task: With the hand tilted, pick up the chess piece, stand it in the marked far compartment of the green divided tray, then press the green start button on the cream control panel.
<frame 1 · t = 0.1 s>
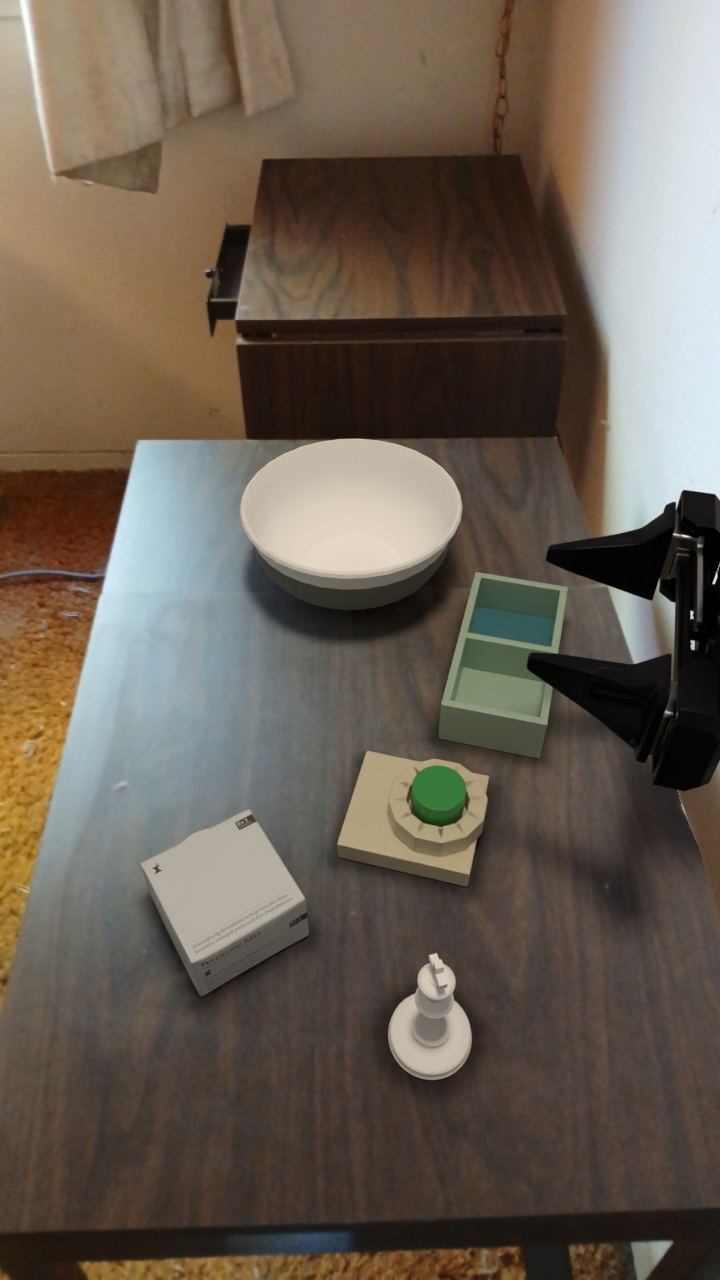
hand: (537, 603, 52), 18 cm above the table, tool horizontal, fingers open, 9 cm apart
small box: (231, 919, 58), on the table
control panel: (414, 822, 62), on the table
bowl: (352, 575, 81), on the table
start button: (438, 794, 59), point 4 cm above the table, slide at 0.1 cm
chess piece: (429, 1037, 53), on the table
green divided tray: (502, 676, 72), on the table
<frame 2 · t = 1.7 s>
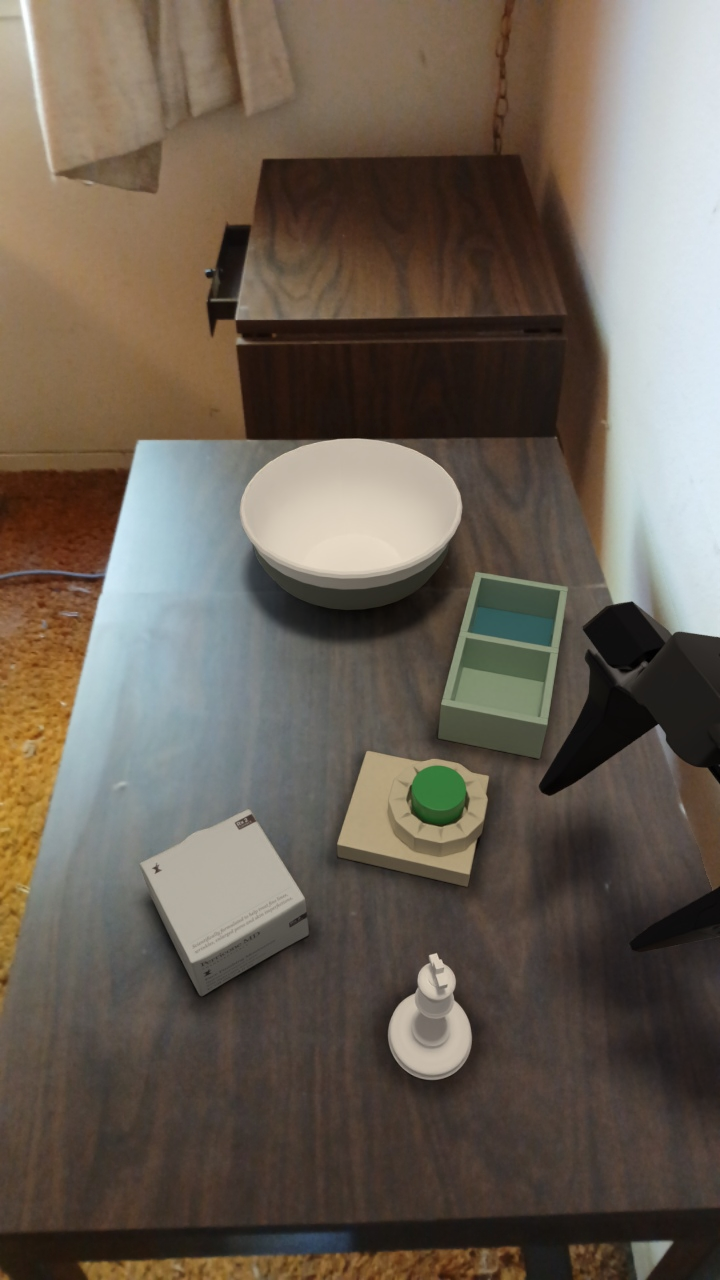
hand: (585, 864, 45), 14 cm above the table, tool tilted 45°, fingers open, 9 cm apart
nothing on the table moved.
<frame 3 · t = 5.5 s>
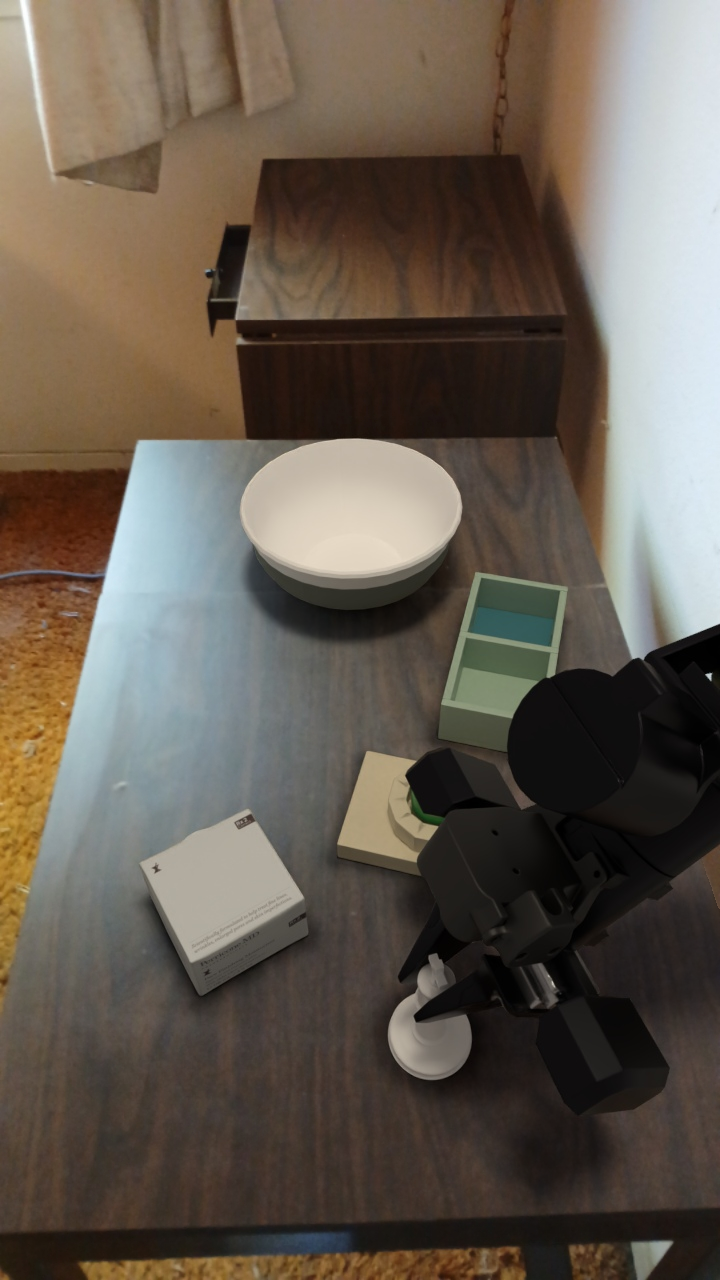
hand: (411, 1000, 47), 7 cm above the table, tool tilted 45°, fingers closed on chess piece
chess piece: (429, 1037, 53), on the table, touching gripper
everything else where it was.
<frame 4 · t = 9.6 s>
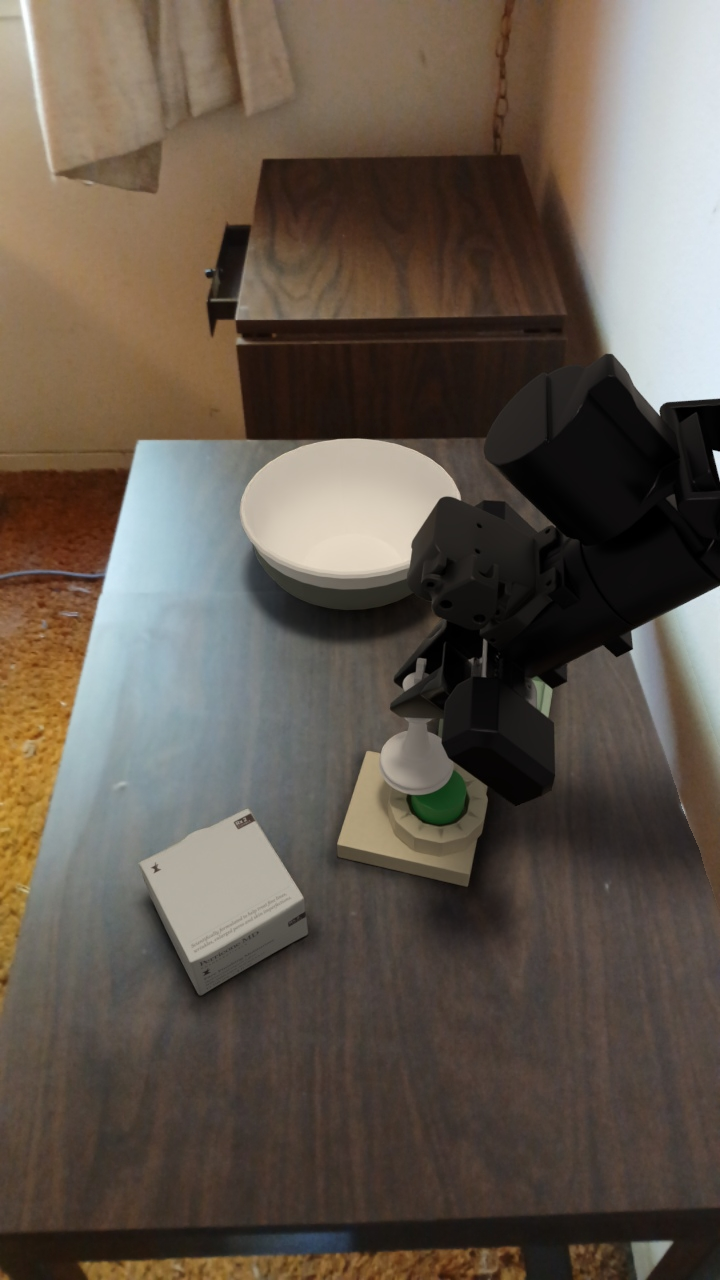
hand: (396, 697, 54), 12 cm above the table, tool tilted 45°, fingers closed on chess piece
chess piece: (415, 766, 59), point 6 cm above the table, touching gripper
everything else where it was.
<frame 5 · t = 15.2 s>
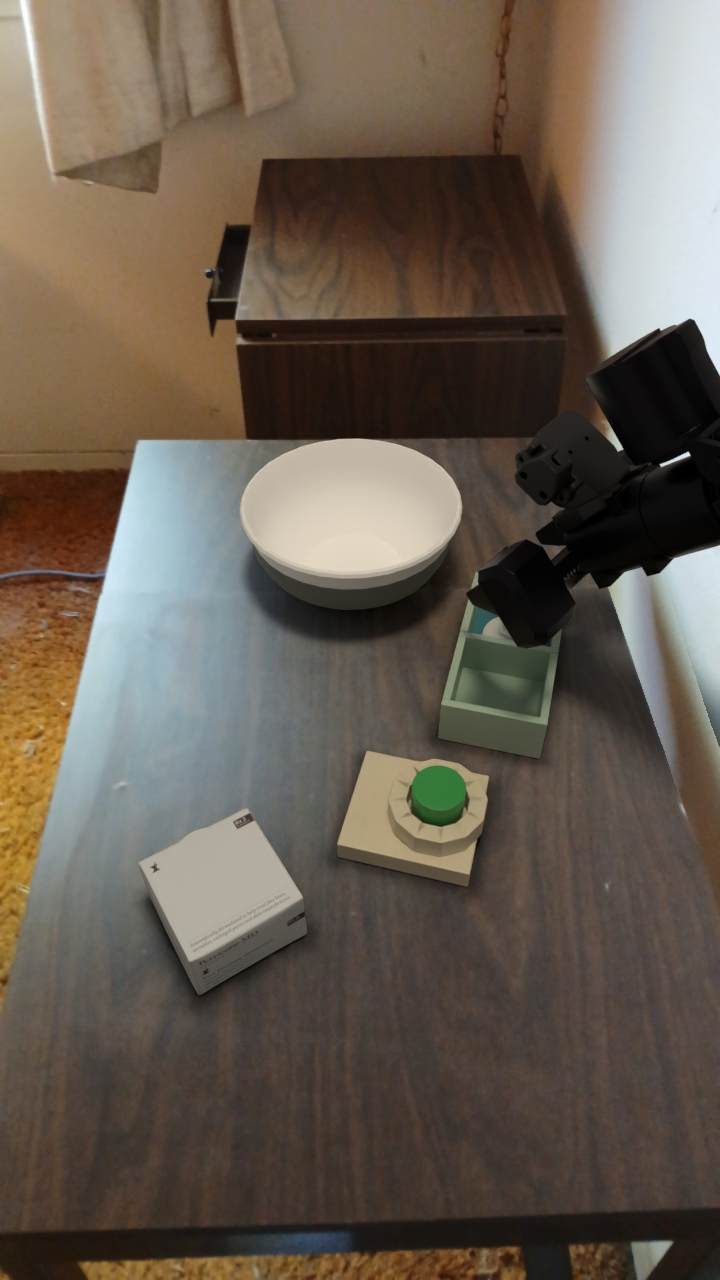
hand: (505, 567, 69), 8 cm above the table, tool tilted 45°, fingers open, 9 cm apart
chess piece: (510, 643, 73), point 1 cm above the table, touching green divided tray
everything else where it was.
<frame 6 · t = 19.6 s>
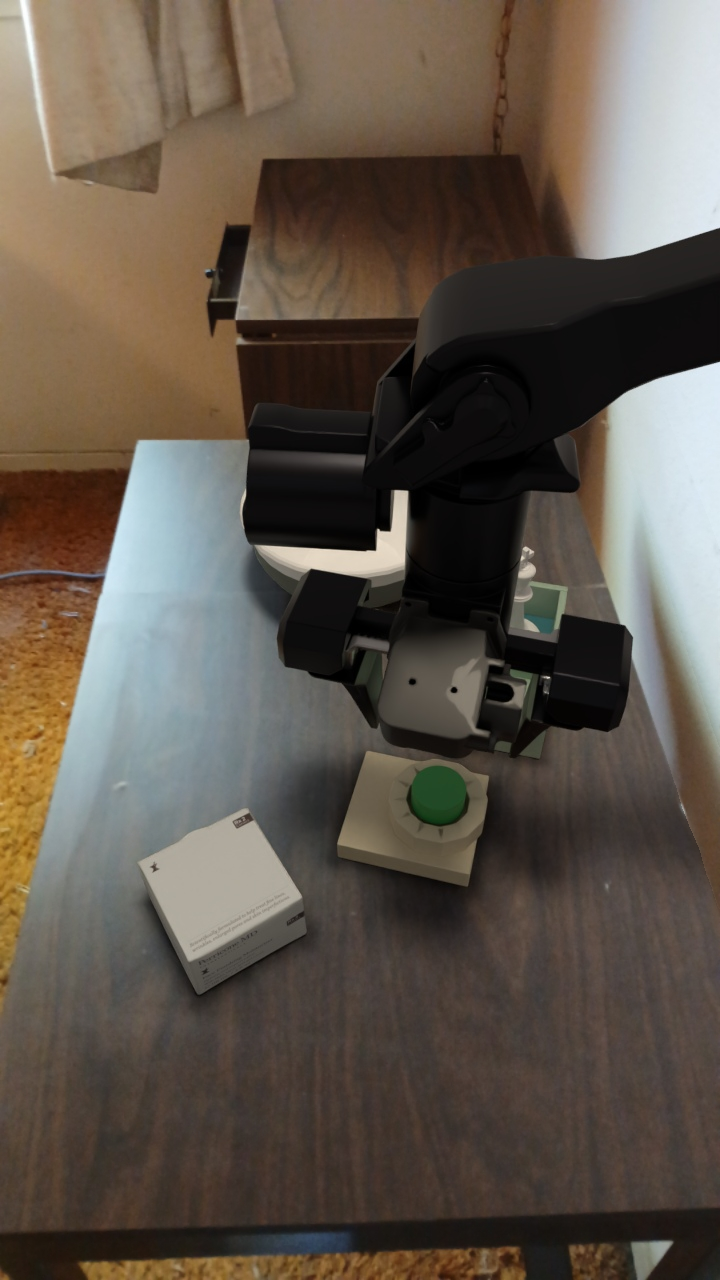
hand: (443, 737, 55), 10 cm above the table, tool pointing down, fingers open, 8 cm apart
nothing on the table moved.
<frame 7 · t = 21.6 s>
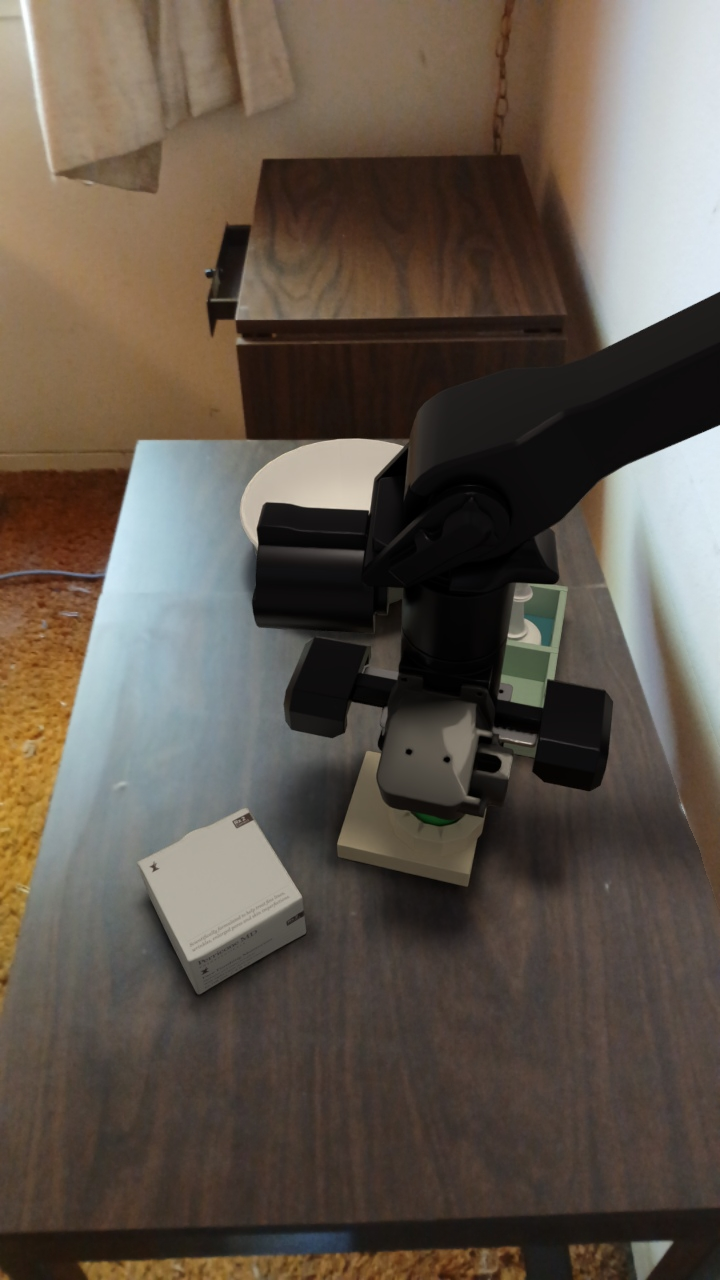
hand: (439, 788, 59), 5 cm above the table, tool pointing down, fingers closed, pressing on start button
start button: (438, 795, 59), point 4 cm above the table, slide at 0.0 cm, touching gripper
everything else where it was.
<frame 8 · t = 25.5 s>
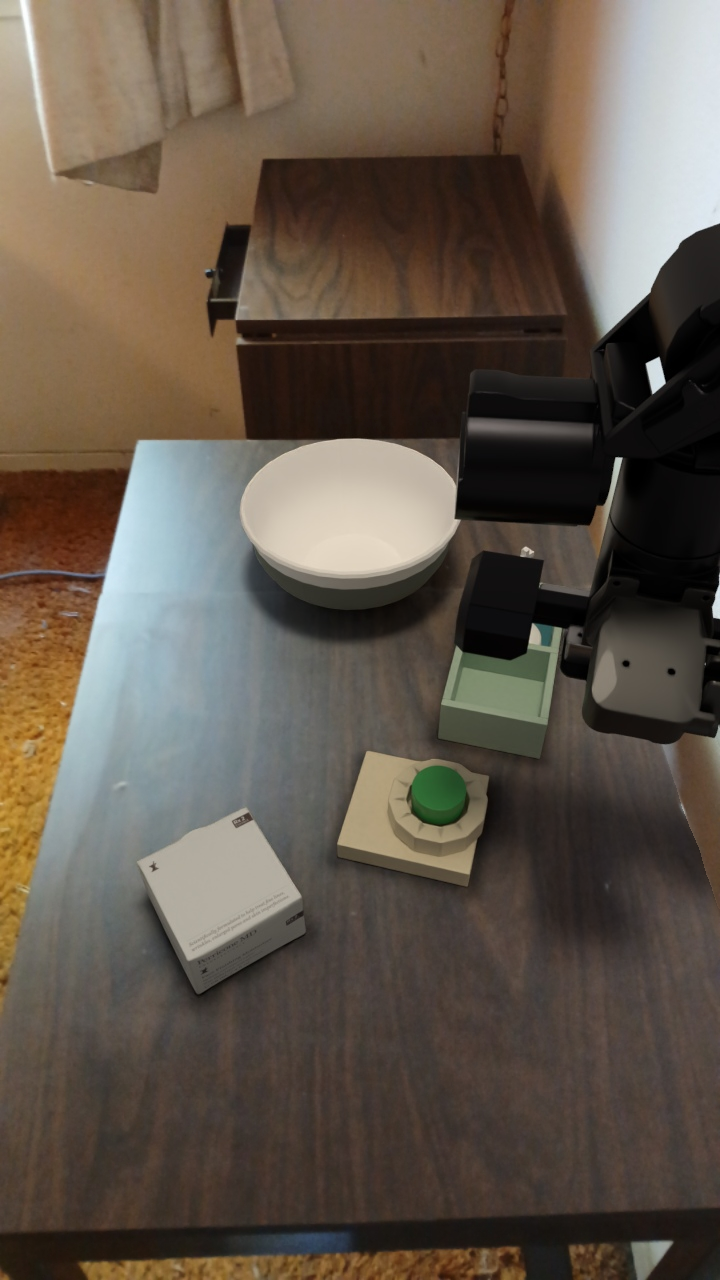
hand: (607, 725, 53), 12 cm above the table, tool pointing down, fingers closed
start button: (438, 794, 59), point 4 cm above the table, slide at 0.1 cm
everything else where it was.
at the end: chess piece 0.3 cm from the target spot in the green divided tray, point 0.6 cm above the green divided tray's base; chess piece tilted 0°; start button pushed in 1.1 cm at the most during the clip, back to where it started at the end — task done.
